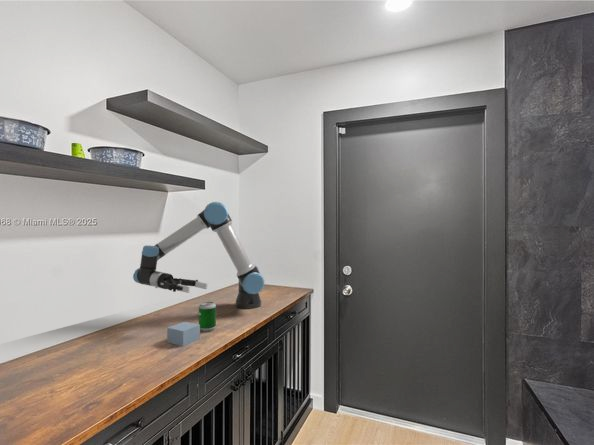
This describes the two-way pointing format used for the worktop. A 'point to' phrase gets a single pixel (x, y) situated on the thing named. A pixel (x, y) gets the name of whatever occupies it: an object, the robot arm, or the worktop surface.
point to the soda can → (207, 316)
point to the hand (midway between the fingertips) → (198, 288)
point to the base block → (183, 333)
